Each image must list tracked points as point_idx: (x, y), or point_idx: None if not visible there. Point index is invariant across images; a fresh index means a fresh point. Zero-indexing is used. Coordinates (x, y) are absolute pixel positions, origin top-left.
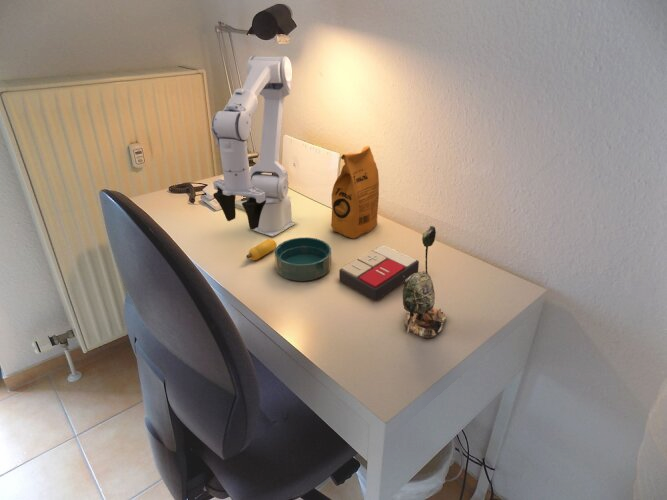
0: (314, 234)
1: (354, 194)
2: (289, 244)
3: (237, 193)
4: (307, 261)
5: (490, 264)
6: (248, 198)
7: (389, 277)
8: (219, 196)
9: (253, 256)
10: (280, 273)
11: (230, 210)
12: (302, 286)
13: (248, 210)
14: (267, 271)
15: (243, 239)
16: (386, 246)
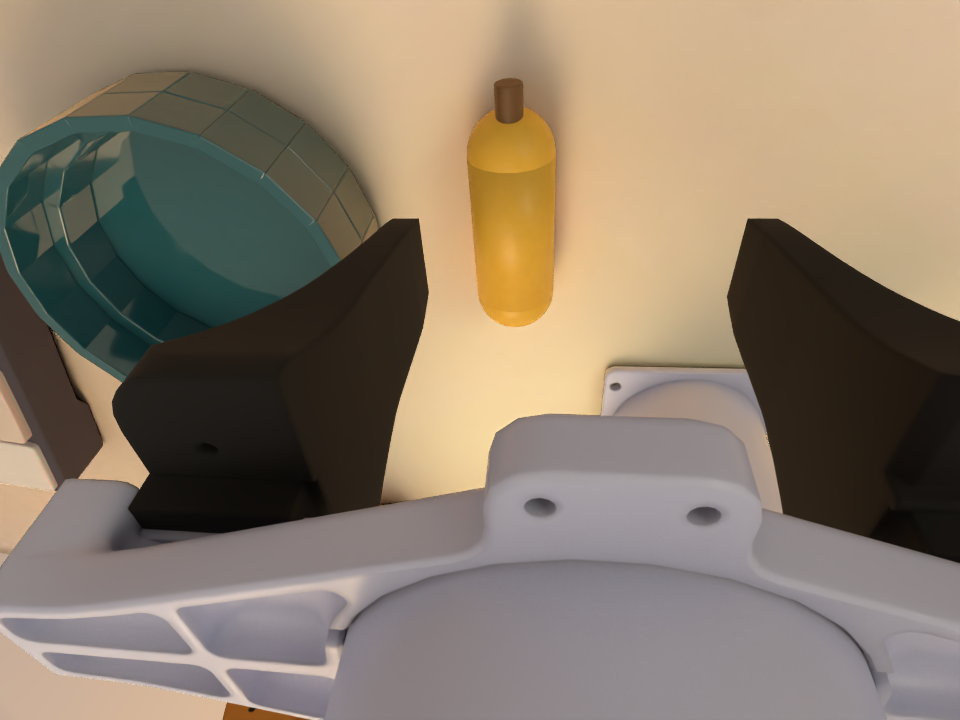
0: (452, 461)
1: (224, 712)
2: None
3: (367, 545)
4: (252, 277)
5: None
6: None
7: None
8: (952, 403)
9: (486, 118)
10: (208, 81)
11: (770, 327)
12: (45, 71)
13: (246, 329)
14: (330, 68)
15: None
16: (30, 487)
